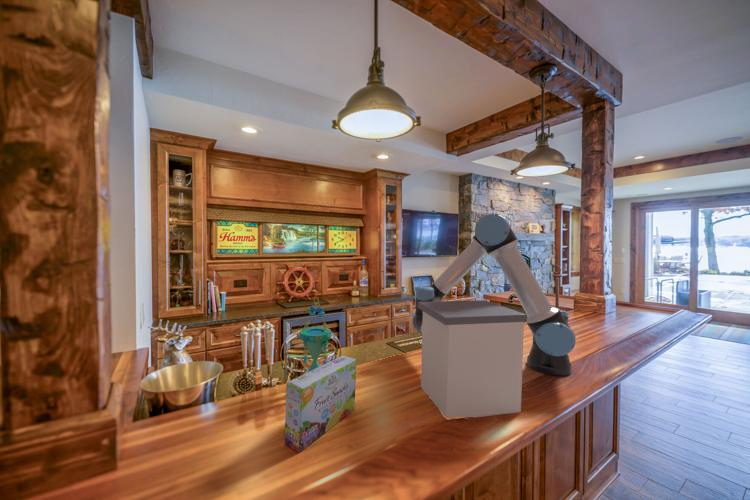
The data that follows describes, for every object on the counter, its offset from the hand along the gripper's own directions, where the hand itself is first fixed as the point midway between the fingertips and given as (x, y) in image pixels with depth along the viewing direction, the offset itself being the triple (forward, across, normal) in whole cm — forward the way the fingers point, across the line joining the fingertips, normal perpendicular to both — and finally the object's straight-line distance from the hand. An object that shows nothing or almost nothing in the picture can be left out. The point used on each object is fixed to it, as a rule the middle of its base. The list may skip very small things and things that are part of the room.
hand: (461, 351), depth 95 cm
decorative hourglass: (-11, +45, -14) cm, 49 cm away
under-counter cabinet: (+3, 0, -14) cm, 14 cm away
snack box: (+9, +44, -14) cm, 47 cm away
